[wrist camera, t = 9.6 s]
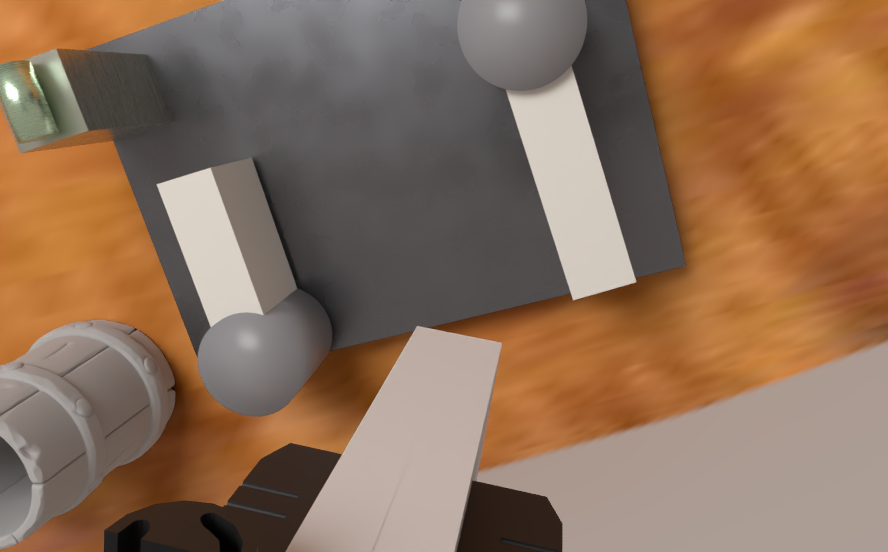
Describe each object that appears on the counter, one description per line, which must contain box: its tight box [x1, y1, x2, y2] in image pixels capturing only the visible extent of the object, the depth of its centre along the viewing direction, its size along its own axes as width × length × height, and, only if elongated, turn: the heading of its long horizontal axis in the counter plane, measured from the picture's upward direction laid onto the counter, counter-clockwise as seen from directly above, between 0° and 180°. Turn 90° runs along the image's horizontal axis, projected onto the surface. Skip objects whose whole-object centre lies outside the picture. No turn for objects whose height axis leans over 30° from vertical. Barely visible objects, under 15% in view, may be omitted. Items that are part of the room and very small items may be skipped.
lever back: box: [157, 157, 332, 416], centre depth 31 cm, size 10×4×4 cm, turn 16°
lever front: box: [457, 0, 636, 300], centre depth 28 cm, size 12×4×4 cm, turn 19°
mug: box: [0, 319, 176, 549], centre depth 33 cm, size 8×12×12 cm, turn 125°
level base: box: [0, 0, 686, 358], centre depth 29 cm, size 23×16×9 cm
